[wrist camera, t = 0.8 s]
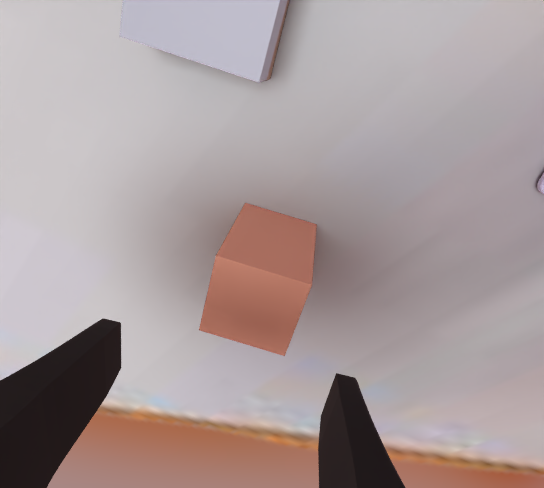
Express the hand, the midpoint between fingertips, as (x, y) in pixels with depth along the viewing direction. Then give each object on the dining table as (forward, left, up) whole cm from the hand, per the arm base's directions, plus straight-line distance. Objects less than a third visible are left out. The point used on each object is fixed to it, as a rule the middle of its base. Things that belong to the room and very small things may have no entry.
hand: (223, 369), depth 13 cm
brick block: (0, 0, -10) cm, 10 cm away
